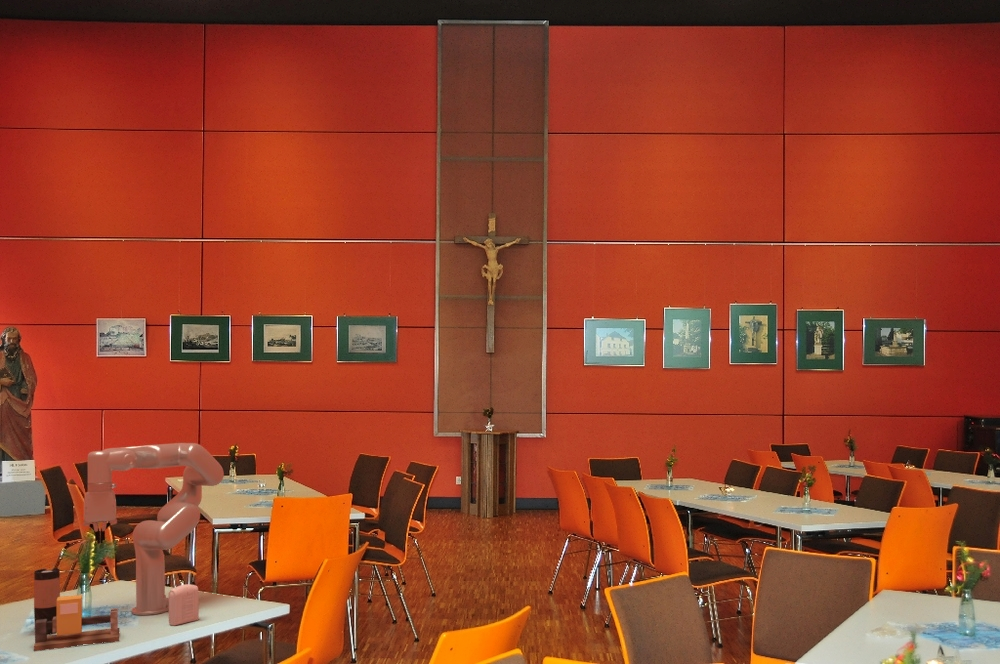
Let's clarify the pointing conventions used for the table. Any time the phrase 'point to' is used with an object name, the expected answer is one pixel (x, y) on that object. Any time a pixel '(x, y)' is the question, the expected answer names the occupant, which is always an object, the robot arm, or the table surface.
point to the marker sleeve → (69, 615)
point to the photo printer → (183, 604)
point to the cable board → (76, 639)
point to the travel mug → (46, 594)
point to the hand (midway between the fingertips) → (100, 542)
